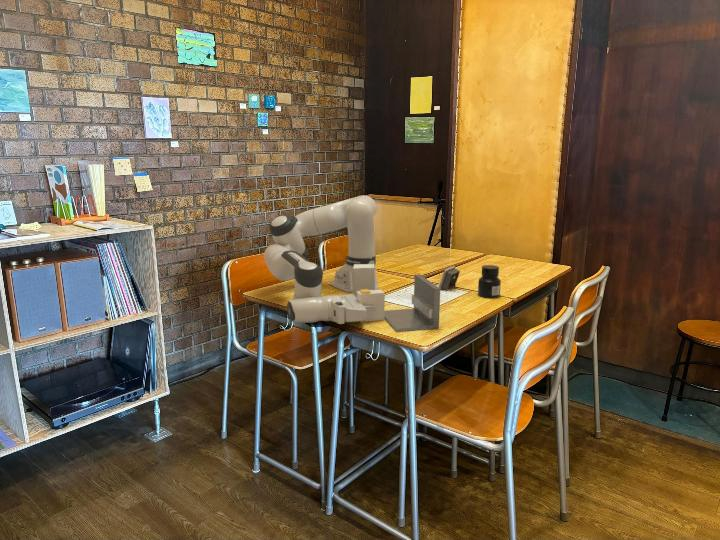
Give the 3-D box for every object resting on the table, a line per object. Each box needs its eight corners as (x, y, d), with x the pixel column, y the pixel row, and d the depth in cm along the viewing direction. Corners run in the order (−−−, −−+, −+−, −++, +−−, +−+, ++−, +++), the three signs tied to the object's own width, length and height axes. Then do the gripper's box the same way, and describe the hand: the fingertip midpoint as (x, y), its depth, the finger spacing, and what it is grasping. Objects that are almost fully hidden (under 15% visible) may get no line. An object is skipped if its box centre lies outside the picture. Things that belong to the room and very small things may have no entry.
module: (359, 321, 192) (359, 292, 190) (356, 317, 197) (356, 289, 194) (384, 319, 195) (384, 291, 192) (380, 316, 199) (381, 287, 196)
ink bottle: (498, 299, 219) (500, 270, 216) (476, 297, 222) (477, 268, 219) (501, 293, 228) (503, 265, 225) (479, 291, 231) (481, 263, 228)
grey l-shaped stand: (396, 331, 183) (397, 291, 179) (380, 313, 202) (380, 276, 198) (438, 328, 186) (440, 288, 183) (418, 310, 205) (419, 274, 202)
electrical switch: (447, 285, 241) (450, 264, 238) (458, 288, 238) (461, 267, 235) (437, 289, 233) (440, 269, 231) (448, 293, 231) (451, 271, 228)
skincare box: (375, 302, 215) (375, 263, 212) (375, 307, 209) (375, 267, 205) (353, 302, 216) (353, 263, 212) (353, 307, 209) (353, 267, 205)
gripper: (329, 307, 202) (365, 305, 205) (340, 326, 183) (380, 322, 186) (328, 291, 201) (365, 288, 204) (340, 307, 181) (380, 304, 184)
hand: (372, 305), depth 195 cm, fingers closed on module, 4 cm apart
